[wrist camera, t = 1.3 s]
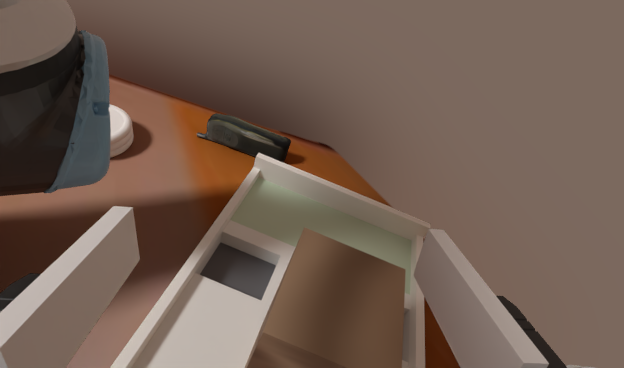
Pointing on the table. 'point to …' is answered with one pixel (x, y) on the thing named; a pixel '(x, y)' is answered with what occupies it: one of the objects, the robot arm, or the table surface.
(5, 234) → the table surface
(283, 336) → the walnut block
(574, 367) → the disposable coffee cup
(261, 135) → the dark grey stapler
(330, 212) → the board
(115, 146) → the coaster
